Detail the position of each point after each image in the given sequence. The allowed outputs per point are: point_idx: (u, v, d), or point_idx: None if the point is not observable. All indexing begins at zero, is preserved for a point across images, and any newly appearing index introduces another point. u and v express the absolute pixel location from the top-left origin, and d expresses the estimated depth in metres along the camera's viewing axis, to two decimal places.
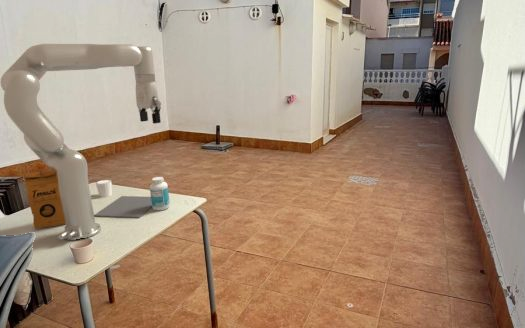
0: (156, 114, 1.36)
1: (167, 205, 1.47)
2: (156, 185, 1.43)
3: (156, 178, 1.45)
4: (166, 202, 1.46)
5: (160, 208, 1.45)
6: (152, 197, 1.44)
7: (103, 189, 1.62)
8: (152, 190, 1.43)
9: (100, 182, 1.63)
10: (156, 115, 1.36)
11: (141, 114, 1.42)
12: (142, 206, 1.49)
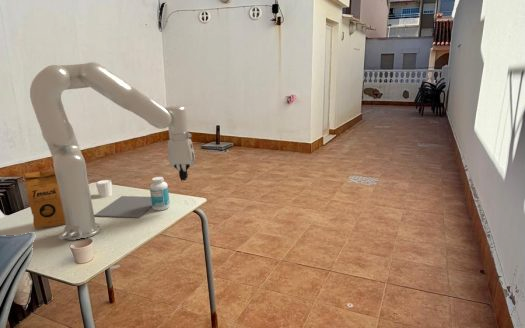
0: None
1: (167, 205, 1.47)
2: (156, 185, 1.43)
3: (156, 178, 1.45)
4: (166, 202, 1.46)
5: (160, 208, 1.45)
6: (152, 197, 1.44)
7: (103, 189, 1.62)
8: (152, 190, 1.43)
9: (100, 182, 1.63)
10: None
11: None
12: (142, 206, 1.49)
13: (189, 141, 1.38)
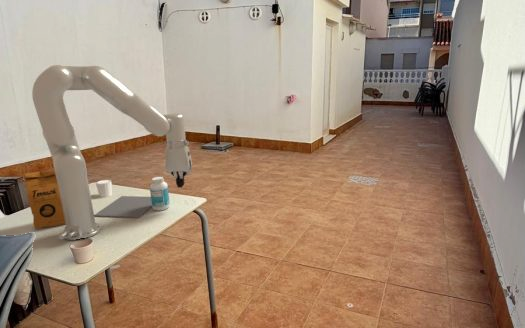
0: None
1: (167, 205, 1.47)
2: (156, 185, 1.43)
3: (156, 178, 1.45)
4: (166, 202, 1.46)
5: (160, 208, 1.45)
6: (152, 197, 1.44)
7: (103, 189, 1.62)
8: (152, 190, 1.43)
9: (100, 182, 1.63)
10: None
11: None
12: (142, 206, 1.49)
13: (186, 149, 1.39)
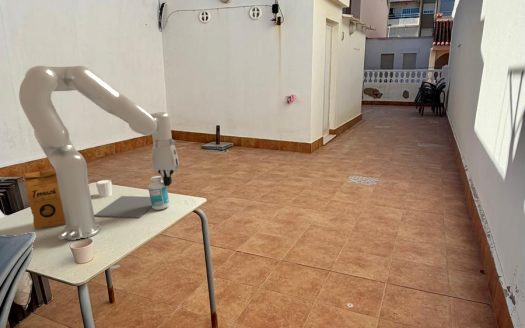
0: None
1: (167, 204, 1.47)
2: (154, 184, 1.43)
3: (154, 177, 1.45)
4: (165, 201, 1.46)
5: (160, 207, 1.45)
6: (151, 196, 1.44)
7: (103, 189, 1.62)
8: (150, 189, 1.43)
9: (100, 182, 1.63)
10: None
11: None
12: (142, 206, 1.49)
13: (173, 147, 1.40)
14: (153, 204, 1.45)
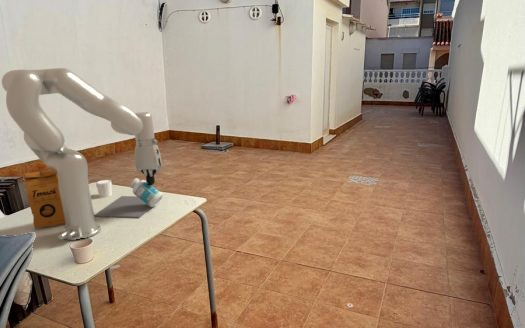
0: None
1: (157, 193, 1.47)
2: (134, 186, 1.46)
3: None
4: (154, 191, 1.46)
5: (153, 199, 1.45)
6: (141, 197, 1.46)
7: (103, 189, 1.62)
8: (135, 192, 1.45)
9: (100, 182, 1.63)
10: None
11: None
12: (142, 206, 1.49)
13: (155, 147, 1.41)
14: (147, 202, 1.45)
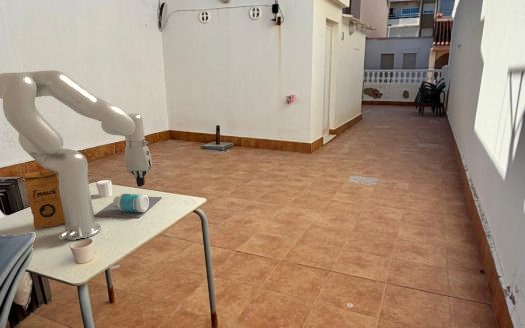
0: None
1: (137, 209, 1.40)
2: None
3: None
4: (134, 209, 1.40)
5: None
6: None
7: (103, 189, 1.62)
8: None
9: (100, 182, 1.63)
10: None
11: None
12: None
13: (145, 148, 1.41)
14: None
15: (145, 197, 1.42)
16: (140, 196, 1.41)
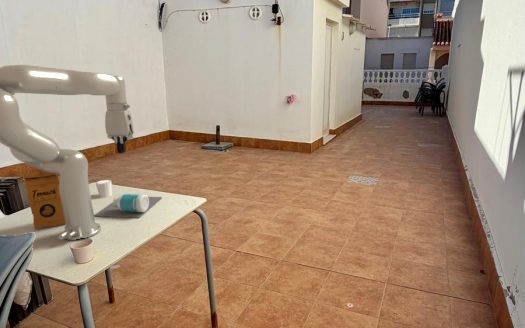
0: None
1: (137, 209, 1.40)
2: None
3: None
4: (134, 209, 1.40)
5: None
6: None
7: (103, 189, 1.62)
8: None
9: (100, 182, 1.63)
10: None
11: None
12: None
13: (126, 112, 1.36)
14: None
15: (145, 197, 1.42)
16: (140, 196, 1.41)
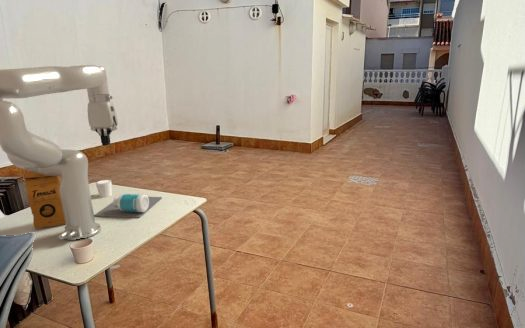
0: None
1: (137, 209, 1.40)
2: None
3: None
4: (134, 209, 1.40)
5: None
6: None
7: (103, 189, 1.62)
8: None
9: (100, 182, 1.63)
10: None
11: None
12: None
13: (109, 103, 1.33)
14: None
15: (145, 197, 1.42)
16: (140, 196, 1.41)
